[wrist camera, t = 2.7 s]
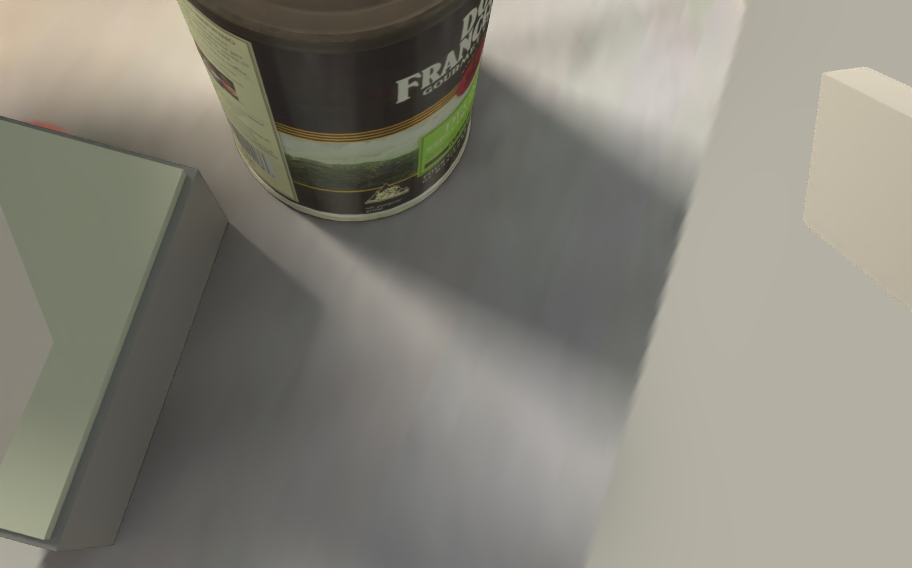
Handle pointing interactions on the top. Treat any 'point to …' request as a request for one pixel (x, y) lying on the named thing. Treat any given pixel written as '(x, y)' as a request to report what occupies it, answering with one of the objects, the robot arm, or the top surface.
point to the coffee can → (345, 95)
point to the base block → (97, 321)
